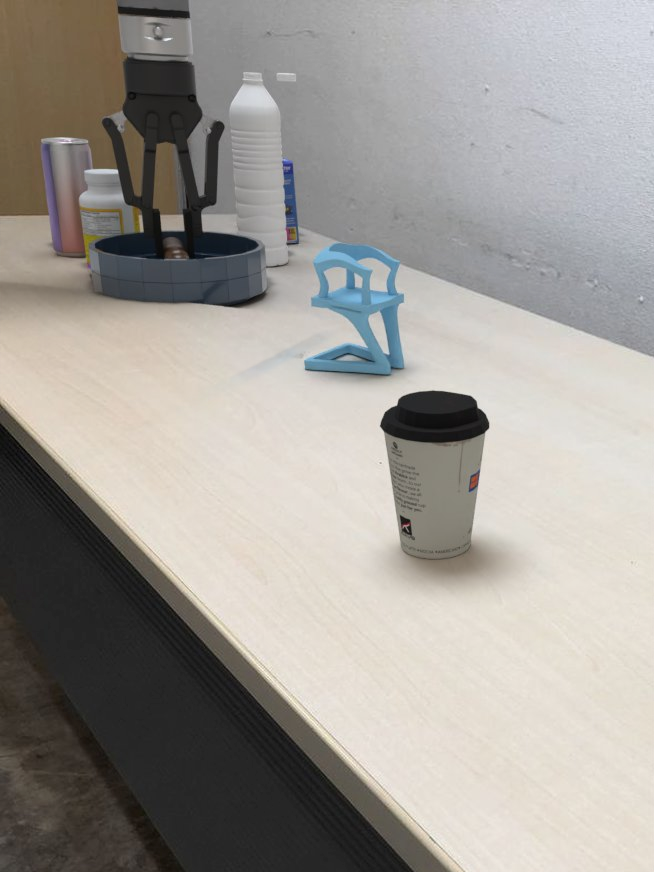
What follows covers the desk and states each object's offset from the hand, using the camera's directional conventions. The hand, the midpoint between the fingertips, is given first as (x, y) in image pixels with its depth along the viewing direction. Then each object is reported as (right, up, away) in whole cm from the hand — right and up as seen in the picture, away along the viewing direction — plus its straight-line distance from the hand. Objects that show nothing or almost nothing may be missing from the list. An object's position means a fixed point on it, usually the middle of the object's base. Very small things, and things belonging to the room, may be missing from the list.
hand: (176, 264), depth 135 cm
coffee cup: (+42, -31, -60) cm, 80 cm away
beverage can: (-21, +5, +18) cm, 28 cm away
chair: (+28, -15, -23) cm, 39 cm away
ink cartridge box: (-1, +11, +37) cm, 38 cm away
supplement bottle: (-11, 0, +8) cm, 14 cm away
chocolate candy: (0, 0, 0) cm, 0 cm away
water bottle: (+5, +4, +21) cm, 22 cm away
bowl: (+1, -3, 0) cm, 4 cm away
